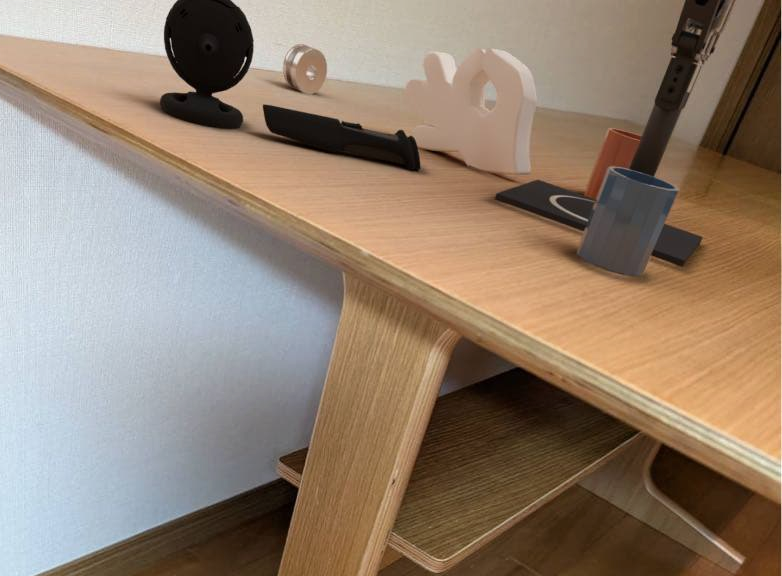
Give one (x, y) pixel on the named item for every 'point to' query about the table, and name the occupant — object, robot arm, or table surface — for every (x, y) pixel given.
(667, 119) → the rod
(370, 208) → the table surface
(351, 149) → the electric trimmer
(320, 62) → the metal grooved wheel
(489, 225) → the table surface
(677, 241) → the drawing pad
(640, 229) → the pen cup
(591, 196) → the pen pot
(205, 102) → the webcam
